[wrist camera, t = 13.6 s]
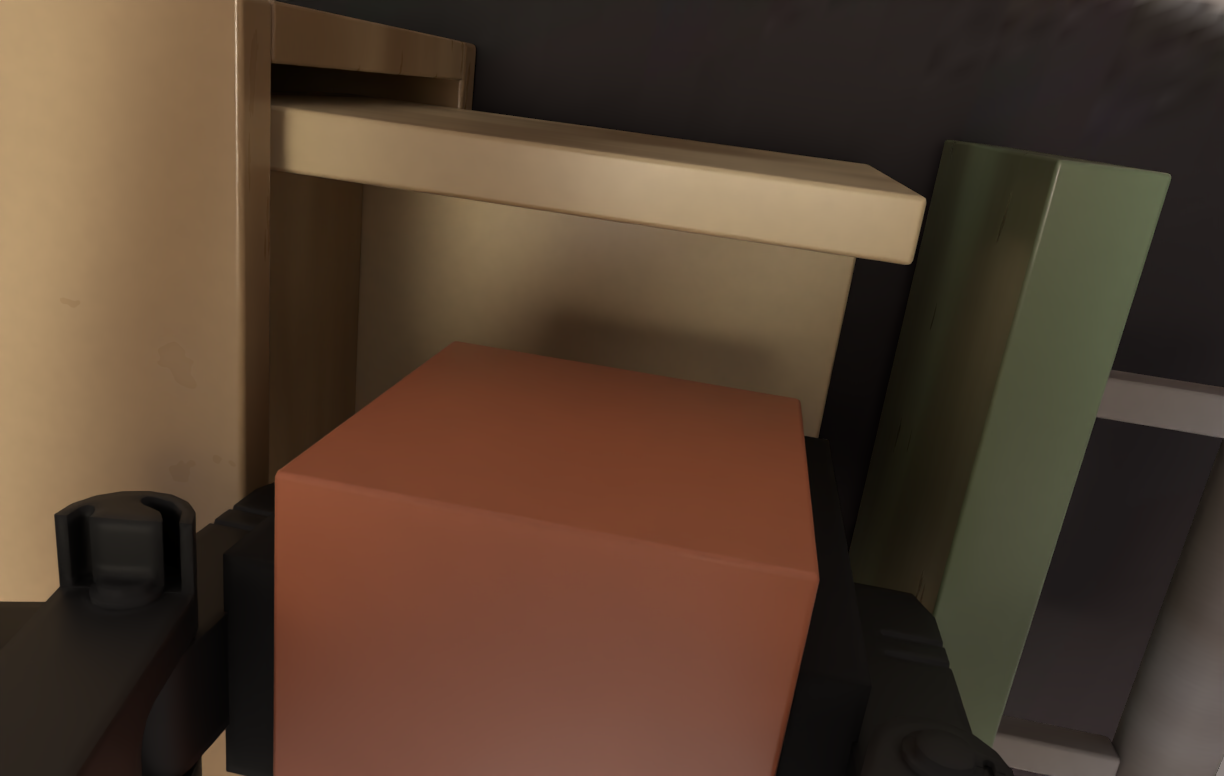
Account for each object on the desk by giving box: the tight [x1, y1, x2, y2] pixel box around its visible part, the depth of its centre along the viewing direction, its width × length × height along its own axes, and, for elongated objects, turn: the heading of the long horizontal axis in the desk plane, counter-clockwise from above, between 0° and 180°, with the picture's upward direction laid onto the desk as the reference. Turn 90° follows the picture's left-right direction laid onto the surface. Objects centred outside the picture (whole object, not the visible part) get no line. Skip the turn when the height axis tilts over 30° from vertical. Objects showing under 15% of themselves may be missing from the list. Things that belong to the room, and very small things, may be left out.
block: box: [273, 341, 820, 776], centre depth 11 cm, size 5×5×5 cm
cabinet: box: [0, 0, 476, 776], centre depth 17 cm, size 13×13×8 cm
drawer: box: [269, 90, 1224, 776], centre depth 15 cm, size 17×12×7 cm
